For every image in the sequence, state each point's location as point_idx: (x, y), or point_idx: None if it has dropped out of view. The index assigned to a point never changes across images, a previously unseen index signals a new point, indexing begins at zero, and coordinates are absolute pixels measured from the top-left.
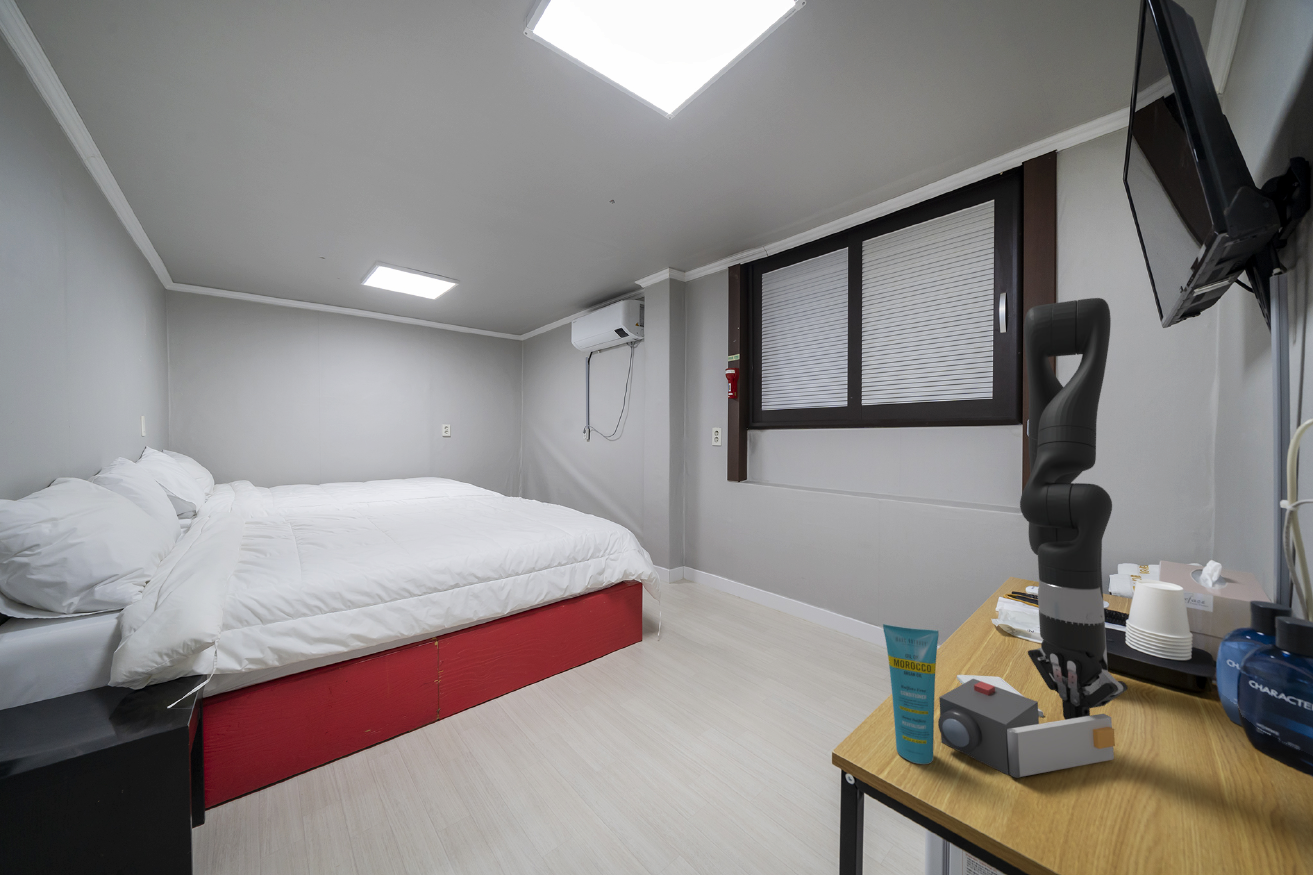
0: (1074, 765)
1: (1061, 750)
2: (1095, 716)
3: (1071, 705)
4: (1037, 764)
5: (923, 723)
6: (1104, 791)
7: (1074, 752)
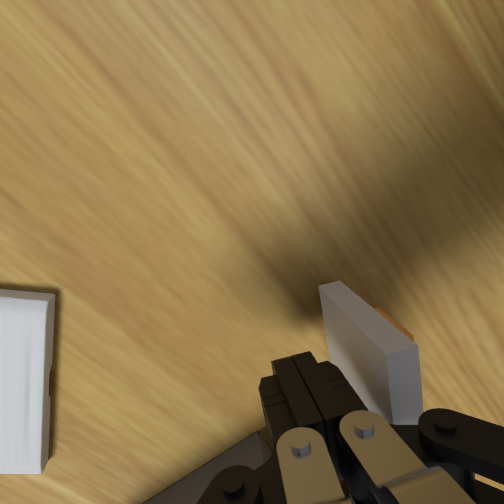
0: None
1: None
2: (402, 408)
3: (339, 475)
4: None
5: None
6: (429, 396)
7: None
